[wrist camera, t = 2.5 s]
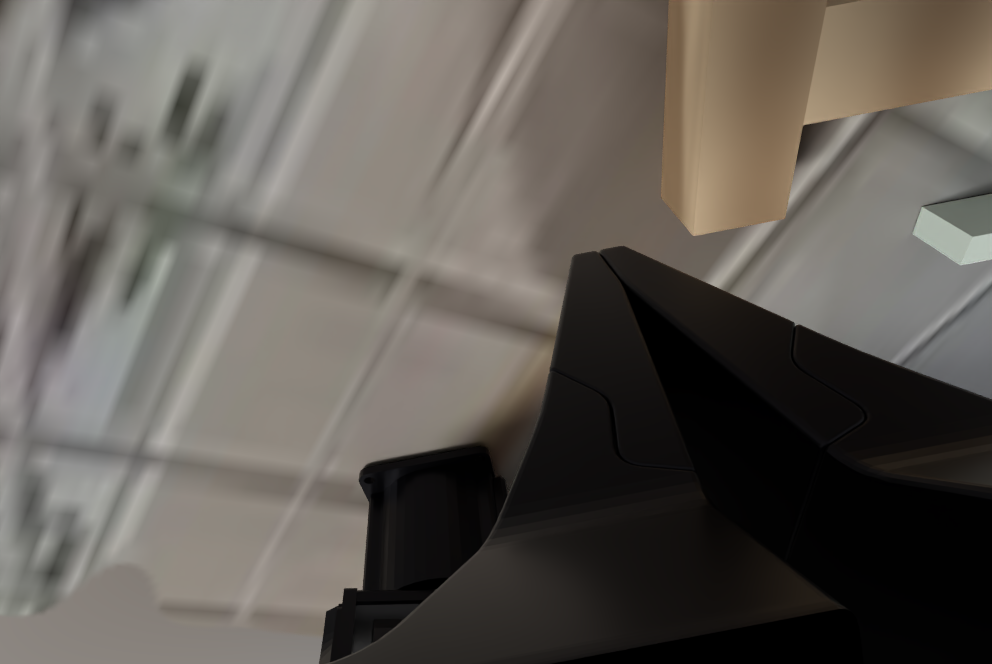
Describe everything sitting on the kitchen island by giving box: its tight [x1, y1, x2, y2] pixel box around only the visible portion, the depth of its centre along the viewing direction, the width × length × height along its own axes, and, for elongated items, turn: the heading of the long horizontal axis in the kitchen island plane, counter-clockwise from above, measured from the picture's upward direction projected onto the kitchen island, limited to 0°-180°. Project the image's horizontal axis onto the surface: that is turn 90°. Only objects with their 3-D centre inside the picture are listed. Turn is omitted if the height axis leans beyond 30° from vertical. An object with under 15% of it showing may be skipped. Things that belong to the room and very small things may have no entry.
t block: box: [661, 0, 992, 236], centre depth 16 cm, size 9×9×3 cm
